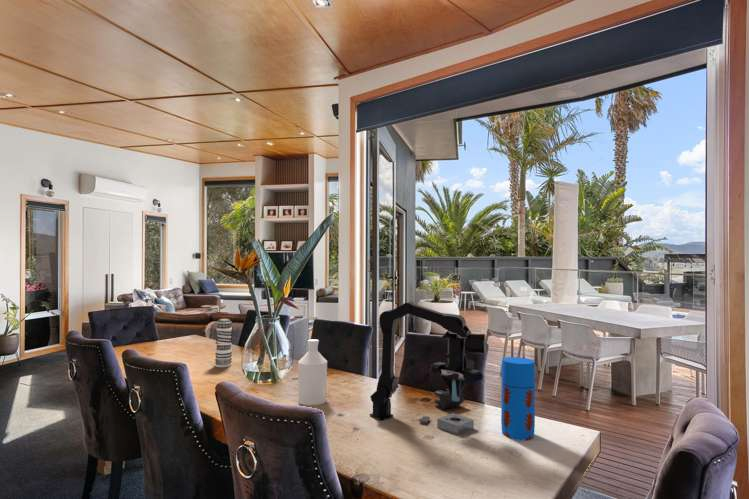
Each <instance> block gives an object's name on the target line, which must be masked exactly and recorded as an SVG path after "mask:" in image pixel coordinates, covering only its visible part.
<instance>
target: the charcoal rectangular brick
mask: <svg viewBox="0 0 749 499" xmlns="http://www.w3.org/2000/svg"><path fill="white" fill-rule="evenodd" d="M430 418H431V417H430V416H427V415H423V416H422V418H420V420H419V424H420V425H428V424H429V422H430V420H431V419H430Z"/></svg>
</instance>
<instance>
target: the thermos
mask: <svg viewBox="0 0 749 499" xmlns="http://www.w3.org/2000/svg"><path fill="white" fill-rule="evenodd" d="M535 364H536V363H535V361H534V360H533V359H530V358H526V357H521V356H520V357H518V356H513V357H512V356H508V357H503V358H502V360H501V393H500V394H501V400H500V401H501V410H500V412H501V417H500V419H501V420H500V424H501V434H502V435H503V436H504V437H506V438H508V439H510V440H516V441H530V440H533V439H534V438H535V426H536V420H535V419H536V415H535V414H536V412H535V410H536V400H535V399H536V365H535Z"/></svg>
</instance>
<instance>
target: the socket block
mask: <svg viewBox="0 0 749 499" xmlns="http://www.w3.org/2000/svg"><path fill="white" fill-rule="evenodd" d="M436 421H437V424H436V427H437V428H438V429H440V430H443V431H446V432H448V433H452V434H455V435H457V436H459V435H461V434H465V433H466V432H469V431H471V430H473V429H474V426H475V424H474V423H475V422H474V421H475V420H474V419H473V418H469V417H466V416H462V415H459V414H456V413H450V414H447V415H444V416H441V417H439V418H437V419H436ZM474 430H475V429H474Z"/></svg>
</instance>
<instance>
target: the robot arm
mask: <svg viewBox="0 0 749 499" xmlns="http://www.w3.org/2000/svg"><path fill="white" fill-rule="evenodd" d="M408 314H409V315H411V316H414V317H418V318H420V319H422V320H425V321H429V322H431V323H435V324H437V325H439V326H440V327H442V328H443V329H445V330H446V332H445V334H443V335H442V336H441V338H442V339H447V353H445V358H447V363H446V362H441V361H438V362H433V363H432V364H431V366H430V372H431V373H435V374H438V373H439V372H441V374H440V373H439V376H440V377H441V378H442V380H443V381H444V384H445V386H446V389H448V390H449V392H450V394H451V395H452V380H453V379H455V382H456V391H457V396H458V397H460V396H461V393H462V392H463V390H464V388H465V386H466V383H467V382H471V383H475V382H478V381H481V380H483V372H482V371H481V370H479V369H475V368H474V366H475V361H474V360H472V359H469V358H468V356H467V354H466V353H465V350H466V351H468V353H470V354H480V355H486V353H487V345H488V344H487V339H486V334H485V333H472V332H471V330H470V328H469V327H468V326H467V321H466V319H465V317H464V316H463V315H460V314H454V313H444V312H440V311H437V310H435V309H431V308H428V307H424V306H422V305H419V304H415V303H414V302H412V301H408V302H404V303H403V304H401V305H400V306H398V307H395V308H394V309H389V310H386V311H382V312H381V314H380V315H379V319H378V320H379V327H380V330H381V333H382V334H381V335H382V343H381V345H382V348H381V351H382V353H381V370H380V376H379V378H378V381H377V386H376V390H375V391H374V392H373V393H372V394H371V395H370V400H371V402H372V413H370V414H369V416H370V417H373V418H375V419H378V420H380V421H383V420H385V419H389V418H391V417H394V414H393V413H391V412H392V402H391V398H392V396H393V394H395V393H396V392H397V389H398V388H399V379H400V378H399V376H396V375H395V372H394V371H395V370H394V369H395V367H394V366H395V345H396V344H395V340H396V333H397V330H398V327H399V323H400V319H401V318H404V317H405V316H407V315H408ZM456 375H457V376H458V377H457V378H456Z"/></svg>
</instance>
